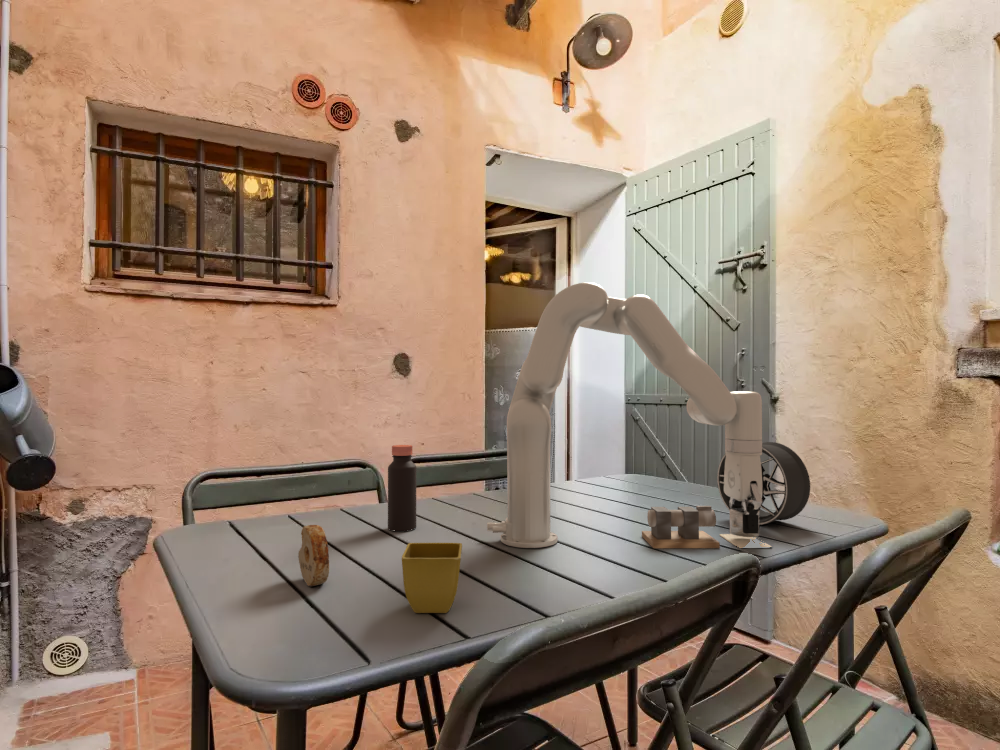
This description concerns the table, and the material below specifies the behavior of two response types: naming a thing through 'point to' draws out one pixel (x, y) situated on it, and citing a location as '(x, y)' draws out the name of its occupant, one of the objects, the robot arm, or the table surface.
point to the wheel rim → (777, 483)
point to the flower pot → (431, 575)
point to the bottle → (402, 489)
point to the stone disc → (314, 555)
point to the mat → (740, 540)
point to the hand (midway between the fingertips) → (744, 528)
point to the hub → (738, 523)
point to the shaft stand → (680, 527)
